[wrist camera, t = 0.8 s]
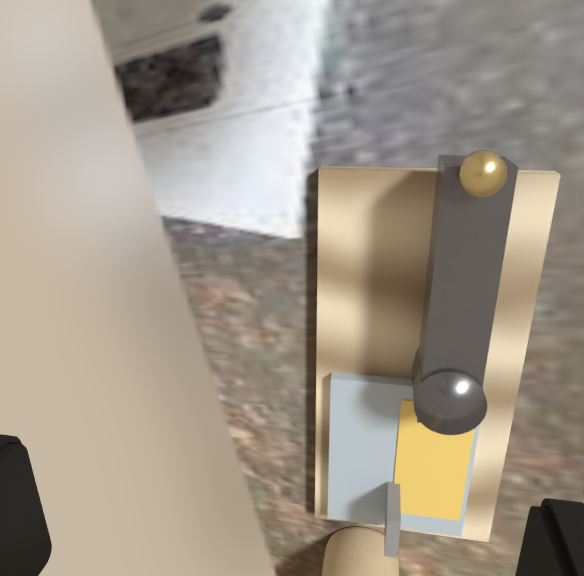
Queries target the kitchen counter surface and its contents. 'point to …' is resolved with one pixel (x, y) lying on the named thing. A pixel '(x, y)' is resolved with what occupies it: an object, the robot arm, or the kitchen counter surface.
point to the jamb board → (417, 303)
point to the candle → (358, 554)
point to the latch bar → (462, 289)
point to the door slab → (393, 461)
